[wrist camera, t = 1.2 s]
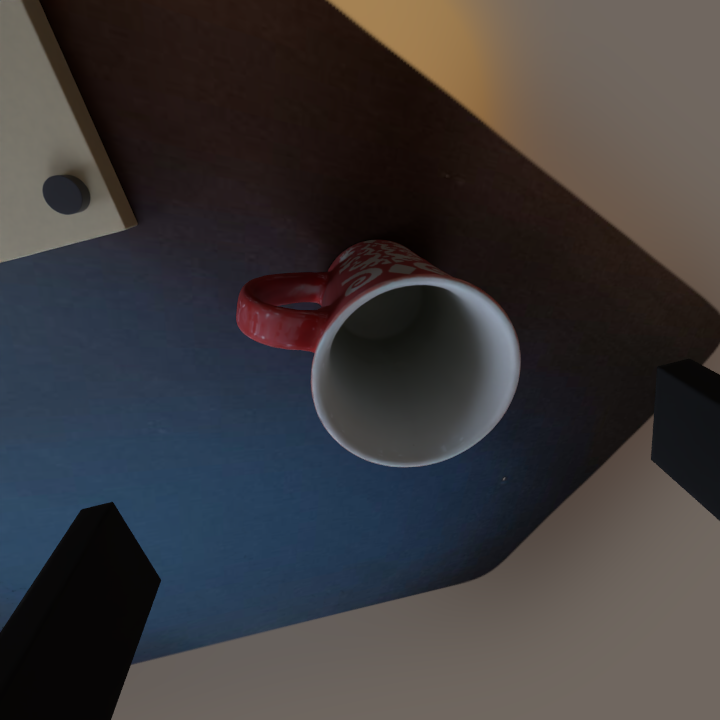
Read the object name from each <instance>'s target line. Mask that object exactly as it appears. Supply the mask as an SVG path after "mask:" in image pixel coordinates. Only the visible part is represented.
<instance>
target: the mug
mask: <svg viewBox="0 0 720 720" xmlns="http://www.w3.org/2000/svg"><path fill="white" fill-rule="evenodd" d="M299 302H316V303H319V304H320V305H321V306H322V308H320V309H318V310H295V309H288V308H283V307H277V306H280V305H285V304H291V303H299ZM236 321H237V324H238V327H239V328H240V330H241V331H242V332H243V333H244V334H245V335H246V336H248V337H249V338H251V339H253V340H255V341H257V342H259V343H262V344H265V345H268V346H272V347H276V348H283V349H291V350H304V351H311V352H314V353H315V355H314V358H313V362H312V370H311V390H312V397H313V401H314V405H315V408H316V411H317V413H318V416H319V418H320V420H321V422H322V424H323V425H324V427H325V428H326V429H327V431H328V432H329V434H330V435H331V436H332V437H333V438H334V439H335V440H336V441H337V442H338V443H339V444H340V445H341V446H343V447H344V448H345V449H347V450H348V451H350V452H351V453H353V454H354V455H356V456H358V457H360V458H362V459H365V460H367V461H370V462H372V463H376V464H380V465H386V466H392V467H417V466H425V465H430V464H434V463H438V462H441V461H444V460H447V459H449V458H452V457H454V456H456V455H458V454H460V453H462V452H464V451H465V450H467V449H468V448H470V447H472V446H473V445H475V444H476V443H477V442H479V441H480V440H481V439H482V438H483V437H485V436H486V435H487V434H488V433H489V432H490V431H491V430H492V429H493V428H494V427H495V425H496V424H497V423H498V422H499V421H500V419H501V418H502V417H503V415H504V414H505V412H506V411H507V409H508V407H509V405H510V403H511V401H512V399H513V396H514V394H515V391H516V388H517V384H518V381H519V376H520V365H521V356H520V347H519V341H518V337H517V334H516V331H515V329H514V327H513V325H512V322H511V321H510V319H509V317H508V315H507V314H506V312H505V311H504V310H503V309H502V307H501V306H500V305H499V304H498V303H497V302H496V301H495V300H494V299H493V298H492V297H491V296H490V295H488V294H487V293H486V292H484V291H483V290H481V289H480V288H478V287H476V286H474V285H472V284H471V283H469V282H466V281H464V280H461V279H458V278H454V277H451V276H450V275H448V274H447V273H445V272H443V271H441V270H440V269H438V268H437V267H435V266H433V265H432V264H430V263H429V262H428V261H426V260H425V259H423V258H421V257H419V256H418V255H416V254H415V253H413V252H412V251H411V250H409V249H408V248H406V247H404V246H403V245H400V244H398V243H395V242H392V241H388V240H369V241H363V242H360V243H358V244H355V245H353V246H351V247H349V248H348V249H346V250H345V251H344V252H342V253H341V254H340V255H339V256H338V257H337V258H336V259H335V260H334V262H333V263H332V265H331V266H330V268H329V270H328V272H319V273H312V272H304V273H284V274H274V275H266V276H262V277H259V278H255V279H253V280H251V281H249V282H248V283H246V284H245V285H244V286H243V287H242V289H241V291H240V294H239V298H238V303H237V314H236Z"/></svg>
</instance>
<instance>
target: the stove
mask: <svg viewBox="0 0 720 720" xmlns="http://www.w3.org/2000/svg"><path fill="white" fill-rule="evenodd" d="M136 225H138V223H137V221H136V218H135V216H134V214H133V212H132V209H131V207H130V205H129V203H128V200H127V198H126V196H125V194H124V191H123V189H122V187H121V184H120V182H119V180H118V178H117V175H116V173H115V171H114V169H113V166H112V164H111V162H110V160H109V157H108V155H107V153H106V151H105V148H104V146H103V144H102V142H101V139H100V137H99V135H98V133H97V130H96V128H95V126H94V124H93V121H92V119H91V117H90V115H89V112H88V110H87V108H86V105H85V103H84V101H83V99H82V96H81V94H80V92H79V90H78V87H77V85H76V83H75V81H74V78H73V76H72V74H71V72H70V69H69V67H68V65H67V63H66V60H65V58H64V56H63V54H62V51H61V49H60V47H59V45H58V42H57V40H56V38H55V36H54V33H53V31H52V29H51V26H50V24H49V22H48V20H47V17H46V15H45V13H44V11H43V8H42V6H41V4H40V2H39V0H0V263H1V262H5V261H9V260H13V259H17V258H20V257H24V256H28V255H32V254H36V253H39V252H43V251H47V250H51V249H55V248H58V247H62V246H66V245H70V244H74V243H77V242H81V241H85V240H89V239H93V238H97V237H100V236H104V235H108V234H112V233H116V232H119V231H123V230H127V229H129V228H131V227H134V226H136Z"/></svg>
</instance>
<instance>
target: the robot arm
mask: <svg viewBox="0 0 720 720" xmlns="http://www.w3.org/2000/svg"><path fill="white" fill-rule="evenodd" d="M651 460H652V461H653V462H654V463H656V464H657V465H658V466H659V467H660V468H661V469H662V470H663V471H664V472H666V473H667V474H668V475H669V476H670V477H671V478H672V479H673V480H675V481H676V482H677V483H678V484H679V485H680V486H681V487H682V488H684V489H685V490H686V491H687V492H688V493H689V494H690V495H692V496H693V497H694V498H695V499H696V500H697V501H698V502H699V503H700V504H702V505H703V506H704V507H705V508H706V509H707V510H708V511H709V512H710V513H712V514H713V515H714V516H715V517H716V518H717V519H718V520H720V375H719V374H717V373H715V372H714V371H711V370H710V369H708V368H706V367H704V366H702V365H701V364H699V363H697V362H695V361H693V360H691V359H686V360H682V361H678V362H674V363H670V364H666V365H662V366H658V367H657V380H656V394H655V409H654V423H653V438H652V452H651ZM160 582H161V579H160V578H159V576H158V574H157V573H156V571H155V569H154V568H153V566H152V565H151V563H150V561H149V560H148V558H147V556H146V555H145V553H144V552H143V550H142V548H141V547H140V545H139V544H138V542H137V540H136V539H135V537H134V535H133V534H132V532H131V531H130V529H129V527H128V526H127V524H126V522H125V521H124V519H123V518H122V516H121V514H120V513H119V511H118V509H117V508H116V506H115V505H114V503H113V502H110V503H106V504H102V505H98V506H94V507H90V508H86V509H82V510H81V511H80V512H79V514H78V515H77V517H76V518H75V520H74V522H73V523H72V525H71V526H70V528H69V529H68V531H67V532H66V534H65V535H64V537H63V538H62V540H61V541H60V543H59V544H58V546H57V547H56V549H55V550H54V552H53V553H52V555H51V556H50V558H49V559H48V561H47V562H46V564H45V566H44V567H43V569H42V570H41V572H40V573H39V575H38V576H37V578H36V579H35V581H34V582H33V584H32V585H31V587H30V588H29V590H28V591H27V593H26V594H25V596H24V597H23V599H22V600H21V602H20V603H19V605H18V607H17V608H16V610H15V611H14V613H13V614H12V616H11V617H10V619H9V620H8V622H7V623H6V625H5V626H4V628H3V629H2V631H1V632H0V720H111V718H112V715H113V713H114V710H115V707H116V704H117V701H118V699H119V696H120V693H121V690H122V687H123V685H124V682H125V679H126V676H127V673H128V671H129V668H130V665H131V662H132V660H133V657H134V654H135V651H136V649H137V646H138V643H139V640H140V637H141V635H142V632H143V629H144V626H145V624H146V621H147V618H148V615H149V612H150V610H151V607H152V604H153V601H154V599H155V596H156V593H157V590H158V587H159V585H160Z"/></svg>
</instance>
